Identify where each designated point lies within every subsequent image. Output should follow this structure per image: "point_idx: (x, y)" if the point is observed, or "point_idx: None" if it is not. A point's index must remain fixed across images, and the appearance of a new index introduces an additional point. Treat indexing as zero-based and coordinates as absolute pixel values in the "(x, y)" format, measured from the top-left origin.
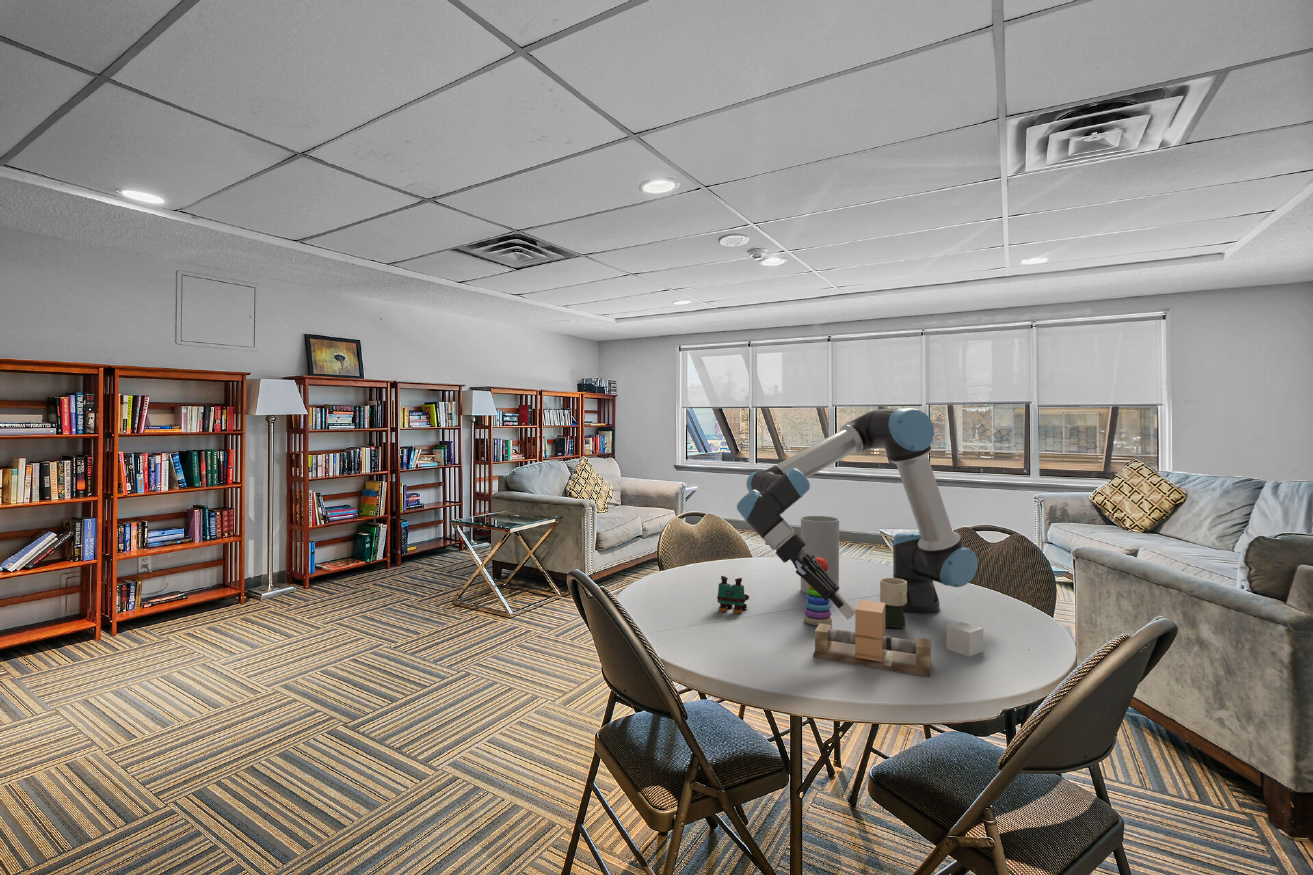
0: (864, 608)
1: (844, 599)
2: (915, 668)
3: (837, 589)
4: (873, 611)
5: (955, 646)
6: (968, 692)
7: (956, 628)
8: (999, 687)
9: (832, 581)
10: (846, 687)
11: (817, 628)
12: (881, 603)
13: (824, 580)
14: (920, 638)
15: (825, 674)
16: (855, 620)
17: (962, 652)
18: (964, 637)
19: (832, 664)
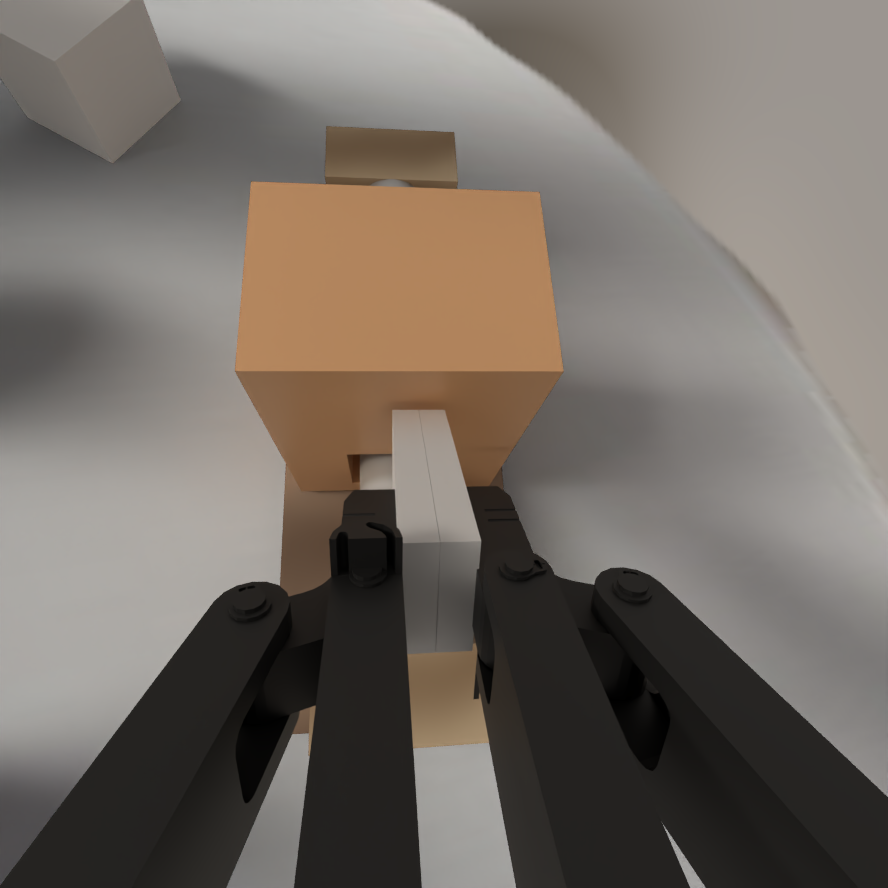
0: (496, 310)
1: (426, 476)
2: None
3: (390, 544)
4: (540, 245)
5: (130, 117)
6: (540, 129)
7: (88, 30)
8: (448, 55)
9: (217, 651)
10: (758, 486)
11: (444, 736)
12: (282, 206)
13: (559, 736)
14: (338, 164)
15: (690, 597)
16: (537, 410)
17: (158, 112)
18: (135, 40)
19: None
